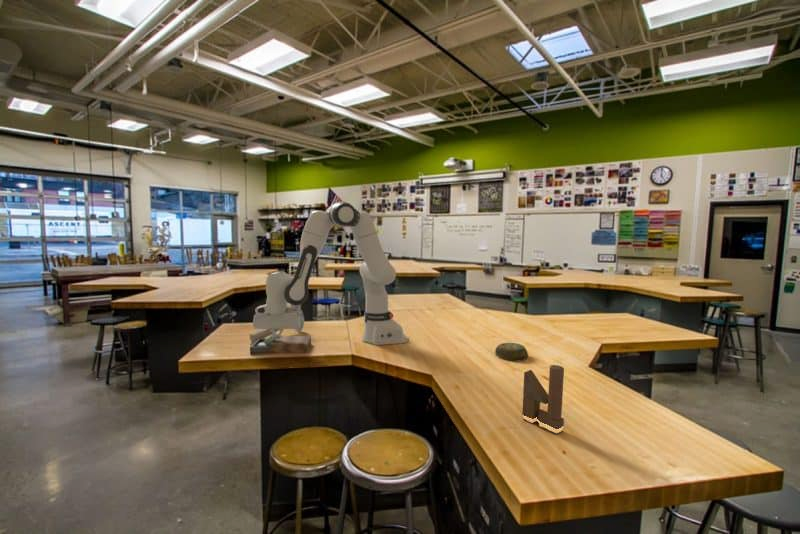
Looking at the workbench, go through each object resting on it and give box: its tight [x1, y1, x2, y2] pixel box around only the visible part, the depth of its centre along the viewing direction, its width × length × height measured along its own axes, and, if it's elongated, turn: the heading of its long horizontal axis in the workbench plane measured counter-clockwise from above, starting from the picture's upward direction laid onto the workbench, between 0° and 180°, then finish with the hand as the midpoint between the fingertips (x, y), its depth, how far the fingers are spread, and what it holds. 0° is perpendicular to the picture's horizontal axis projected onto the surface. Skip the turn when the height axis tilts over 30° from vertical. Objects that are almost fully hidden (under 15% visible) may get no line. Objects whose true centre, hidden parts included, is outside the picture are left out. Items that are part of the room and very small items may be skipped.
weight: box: [494, 342, 529, 361], centre depth 163 cm, size 14×13×5 cm
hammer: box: [249, 304, 305, 344], centre depth 187 cm, size 16×5×30 cm
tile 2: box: [263, 334, 275, 345], centre depth 168 cm, size 4×4×2 cm
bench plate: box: [268, 335, 312, 355], centre depth 169 cm, size 16×13×4 cm
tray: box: [249, 337, 271, 355], centre depth 168 cm, size 8×13×3 cm, turn 5°
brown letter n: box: [521, 364, 565, 429], centre depth 104 cm, size 4×11×18 cm, turn 39°
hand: (277, 338), depth 168 cm, fingers closed
